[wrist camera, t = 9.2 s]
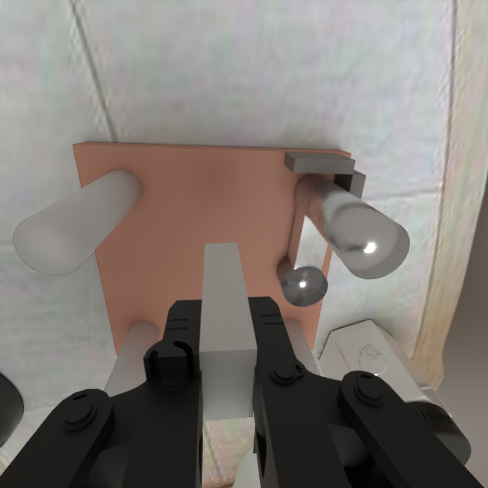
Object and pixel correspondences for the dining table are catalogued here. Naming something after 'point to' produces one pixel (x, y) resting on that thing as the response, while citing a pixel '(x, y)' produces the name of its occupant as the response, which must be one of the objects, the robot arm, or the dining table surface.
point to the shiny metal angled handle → (336, 240)
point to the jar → (392, 377)
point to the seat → (178, 232)
